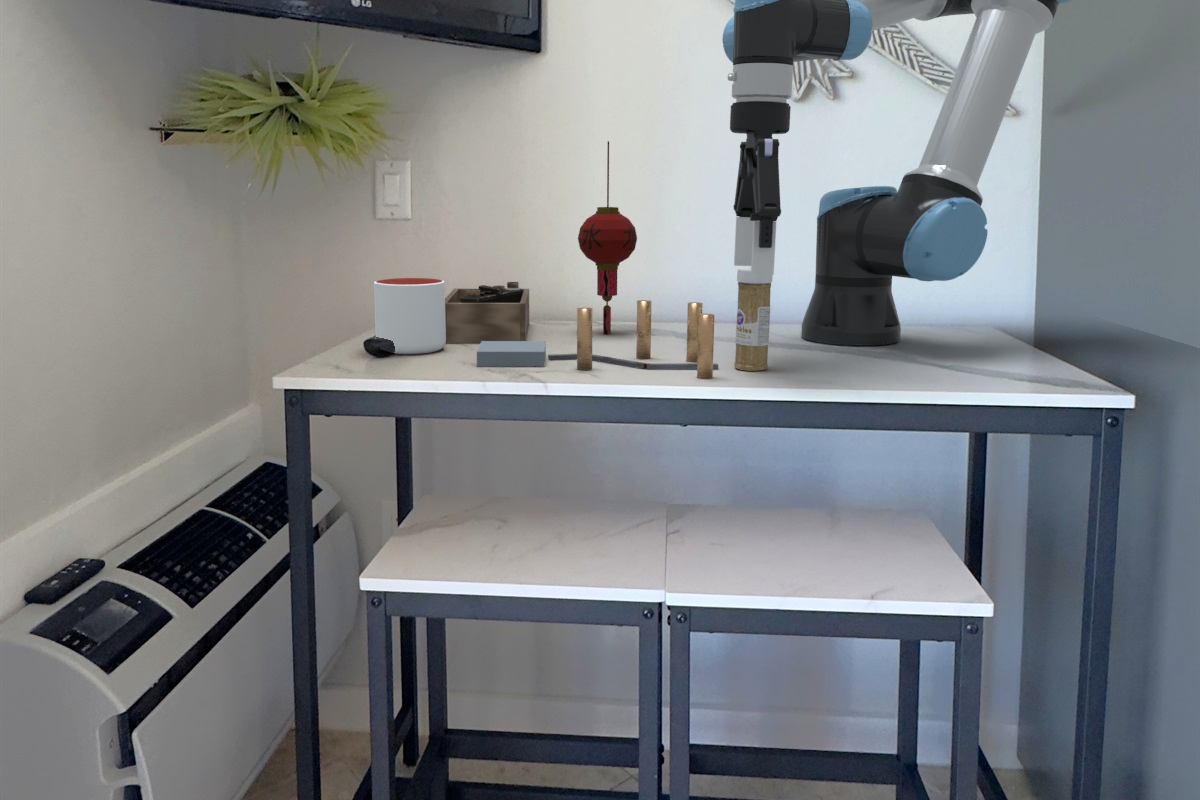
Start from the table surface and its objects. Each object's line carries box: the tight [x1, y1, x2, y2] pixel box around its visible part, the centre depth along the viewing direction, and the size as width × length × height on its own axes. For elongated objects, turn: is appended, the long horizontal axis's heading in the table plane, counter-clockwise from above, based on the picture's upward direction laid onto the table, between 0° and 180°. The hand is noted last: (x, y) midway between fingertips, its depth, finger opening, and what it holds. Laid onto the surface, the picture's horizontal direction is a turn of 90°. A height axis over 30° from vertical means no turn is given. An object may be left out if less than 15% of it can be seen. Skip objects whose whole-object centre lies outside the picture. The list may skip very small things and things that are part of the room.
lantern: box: [577, 140, 638, 335], centre depth 172 cm, size 10×10×30 cm
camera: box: [460, 281, 524, 303], centre depth 172 cm, size 16×7×8 cm, turn 156°
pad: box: [476, 340, 547, 368], centre depth 150 cm, size 9×9×2 cm
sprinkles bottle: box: [734, 266, 773, 372], centre depth 144 cm, size 5×5×13 cm
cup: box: [373, 277, 447, 355], centre depth 157 cm, size 10×10×10 cm
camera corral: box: [445, 288, 530, 344], centre depth 174 cm, size 13×21×6 cm, turn 2°
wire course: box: [547, 299, 719, 380], centre depth 145 cm, size 23×16×8 cm
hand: (752, 270), depth 142 cm, fingers open, 13 cm apart
